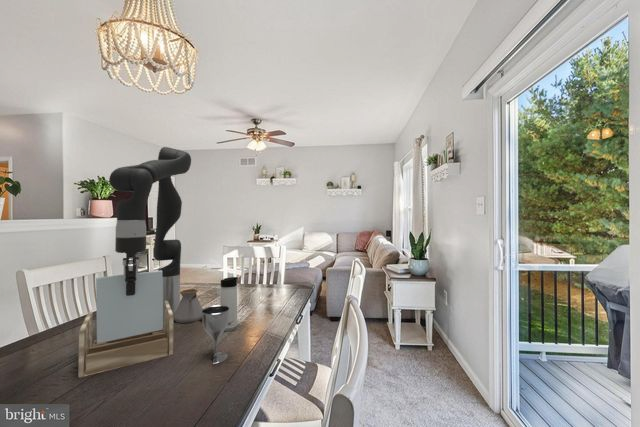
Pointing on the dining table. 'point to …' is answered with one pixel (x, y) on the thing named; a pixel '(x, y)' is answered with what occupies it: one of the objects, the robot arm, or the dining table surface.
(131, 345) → the rack
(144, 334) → the offcut
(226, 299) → the travel mug
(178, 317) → the coffee pot
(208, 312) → the wine glass
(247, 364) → the dining table surface
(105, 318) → the blue-grey flat rectangular block
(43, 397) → the dining table surface
